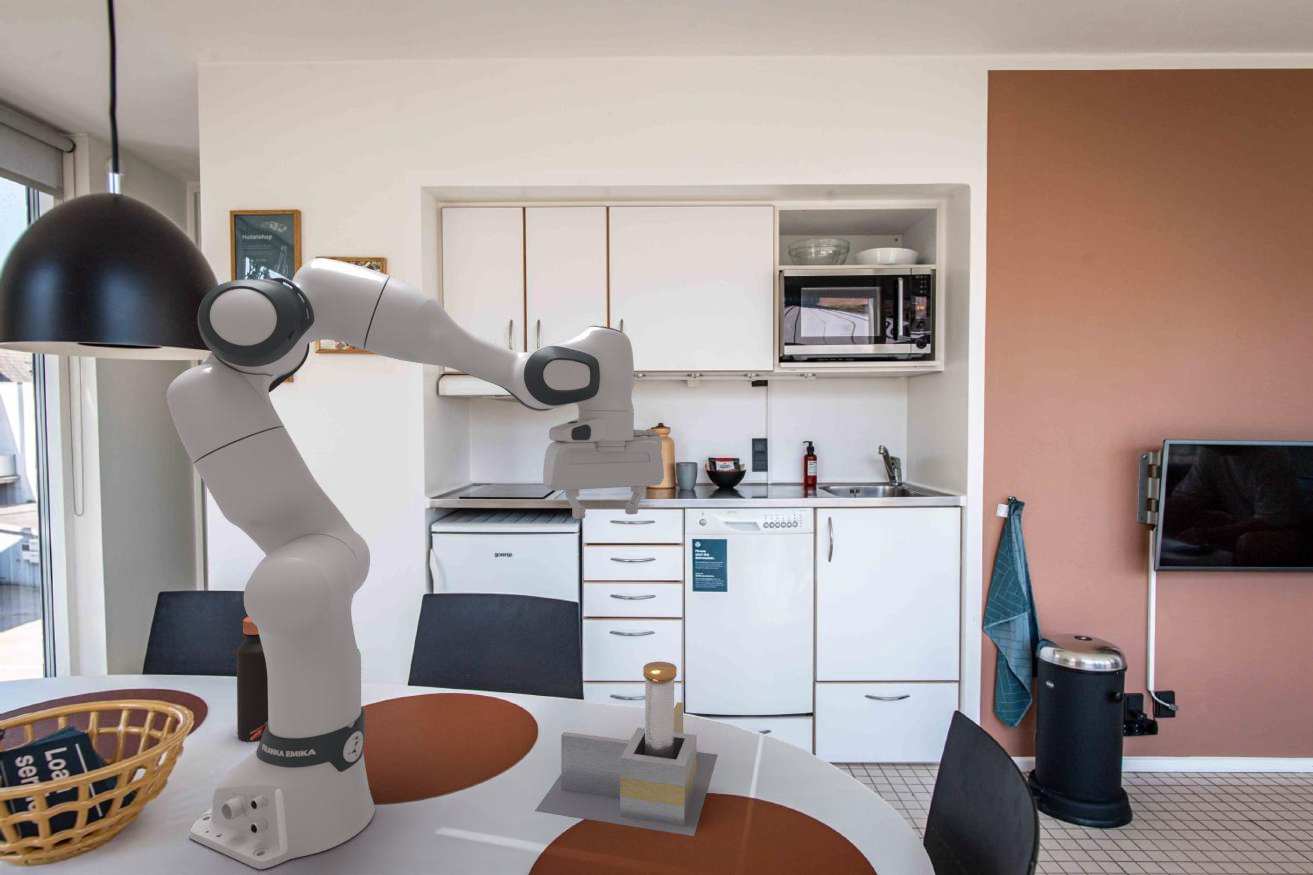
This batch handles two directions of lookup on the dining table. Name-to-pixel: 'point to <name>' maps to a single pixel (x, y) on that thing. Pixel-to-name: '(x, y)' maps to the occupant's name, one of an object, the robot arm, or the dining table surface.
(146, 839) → the dining table surface
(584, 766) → the hinge
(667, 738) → the hinge pin
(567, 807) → the base board
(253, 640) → the bottle
